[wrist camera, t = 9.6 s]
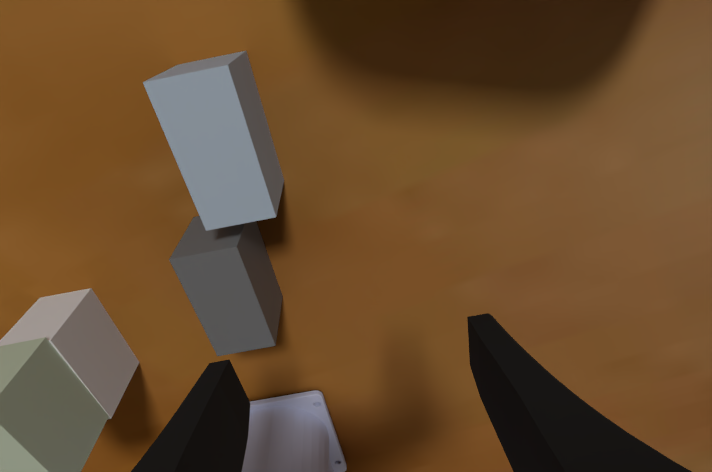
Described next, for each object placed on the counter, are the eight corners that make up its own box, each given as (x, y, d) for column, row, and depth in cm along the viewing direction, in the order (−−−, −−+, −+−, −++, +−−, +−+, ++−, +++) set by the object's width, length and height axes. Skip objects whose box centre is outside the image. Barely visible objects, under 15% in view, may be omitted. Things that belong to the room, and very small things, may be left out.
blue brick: (284, 179, 21) (276, 217, 17) (225, 190, 21) (206, 230, 17) (246, 50, 18) (227, 64, 14) (178, 64, 18) (142, 82, 14)
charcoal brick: (282, 295, 24) (275, 345, 21) (232, 304, 24) (217, 356, 21) (251, 205, 21) (236, 246, 18) (194, 216, 21) (169, 259, 18)
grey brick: (139, 362, 26) (111, 418, 23) (93, 370, 26) (58, 428, 23) (91, 288, 23) (50, 340, 20) (39, 297, 23) (-10, 351, 20)
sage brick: (109, 416, 23) (70, 492, 19) (56, 425, 23) (9, 503, 19) (45, 337, 20) (-14, 411, 16) (-15, 349, 20) (-87, 425, 16)
